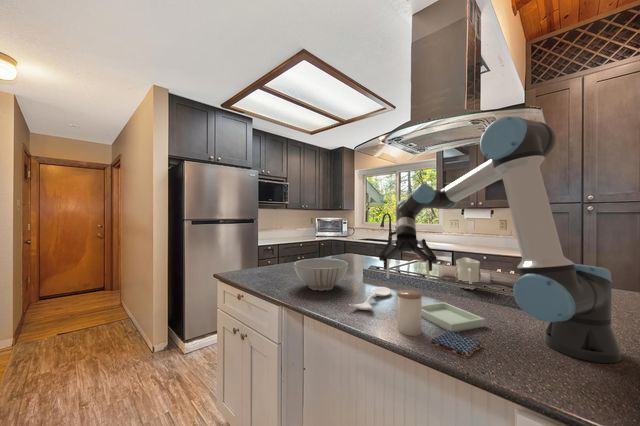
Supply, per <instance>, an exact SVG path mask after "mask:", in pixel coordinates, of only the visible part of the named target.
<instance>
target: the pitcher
mask: <svg viewBox="0 0 640 426" xmlns="http://www.w3.org/2000/svg"><path fill="white" fill-rule="evenodd" d="M455 263H456V267H455V271H454V278H455V280H456V279H458V280H462V281H469V284H472V282H479V281H480V282H481V278H482V277H481V275H482V274H481V269H480V263H481V262H480V261H479V260H477V259H472V258H470V257H464V256H463V257H461V258H457V259H456V260H455Z"/></svg>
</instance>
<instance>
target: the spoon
mask: <svg viewBox="0 0 640 426" xmlns="http://www.w3.org/2000/svg"><path fill="white" fill-rule="evenodd" d="M369 293H370V294H368V297H367V299H366V300H365V302H363V303H349V304H348V307H349V308H350V307H351V308H353V309H356V310H357V309H358V310H361V311H362V310H364V311H372V309H373V308H374V307H373V306H372V305H371V300H372V299H373V298H376V297H387V296H389V295H390V294H392V290H391V289H390V288H388V287H386V286H378V287H374V288H373V289H371V290H370V292H369Z"/></svg>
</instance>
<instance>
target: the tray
mask: <svg viewBox="0 0 640 426" xmlns="http://www.w3.org/2000/svg"><path fill="white" fill-rule="evenodd" d="M422 319H424V320H426V321H428V322H429V323H431V324H433V325H436V326H437V327H440V328H441V329H443V330H444V331H448V330H450V332H455V333H458V332H459V333H460V332H463V331H469V330H473V329H474V330H475V329H479V328H484V327H486V319H485V318H484V317H482V316H479V315H477V314H474V313H473V312H469V311H467V310H465V309H462V308H459V307H457V306H454V305H452V304H449V303H447V302H444V301H442V302H433V303H427V304H422Z"/></svg>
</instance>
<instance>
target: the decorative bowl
mask: <svg viewBox="0 0 640 426" xmlns="http://www.w3.org/2000/svg"><path fill="white" fill-rule="evenodd" d="M348 267H349V263H348V261H345V260H342V259H337V258H309V259H308V258H307V259H301V260H297V261H295V262H294V263H293V268H294V270H295V272H296V275H297V277H298V278H299V279H300V281H301V282H302V283H304V285H306V286H308V289H309V288H310V289H309V290H311V289H312V291H316V290H319V292H321V291H322V292H323V291H324V290H326V291H331V290H333V289H334V288H333V287H335V286H336V285H337V284H339V283H340V282H341V281H342V280H343V278H344V276H345V274H346V273H347V270H348ZM324 292H325V291H324Z"/></svg>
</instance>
